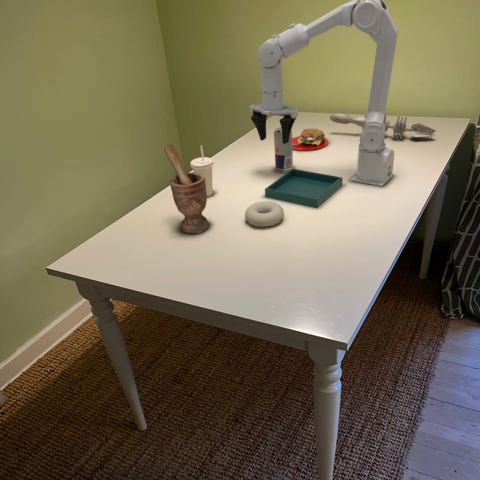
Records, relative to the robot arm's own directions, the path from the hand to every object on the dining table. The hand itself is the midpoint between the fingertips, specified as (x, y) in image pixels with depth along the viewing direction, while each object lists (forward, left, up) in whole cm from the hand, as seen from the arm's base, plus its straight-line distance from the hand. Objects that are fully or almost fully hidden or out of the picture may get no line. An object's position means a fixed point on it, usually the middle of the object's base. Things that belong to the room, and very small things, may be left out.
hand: (274, 141), depth 139 cm
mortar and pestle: (+4, +36, -11) cm, 38 cm away
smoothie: (+12, +19, -11) cm, 25 cm away
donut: (-12, +25, -11) cm, 30 cm away
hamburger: (+4, -27, -11) cm, 29 cm away
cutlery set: (-16, -41, -11) cm, 45 cm away
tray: (-13, +6, -10) cm, 18 cm away
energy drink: (0, -5, -11) cm, 12 cm away
